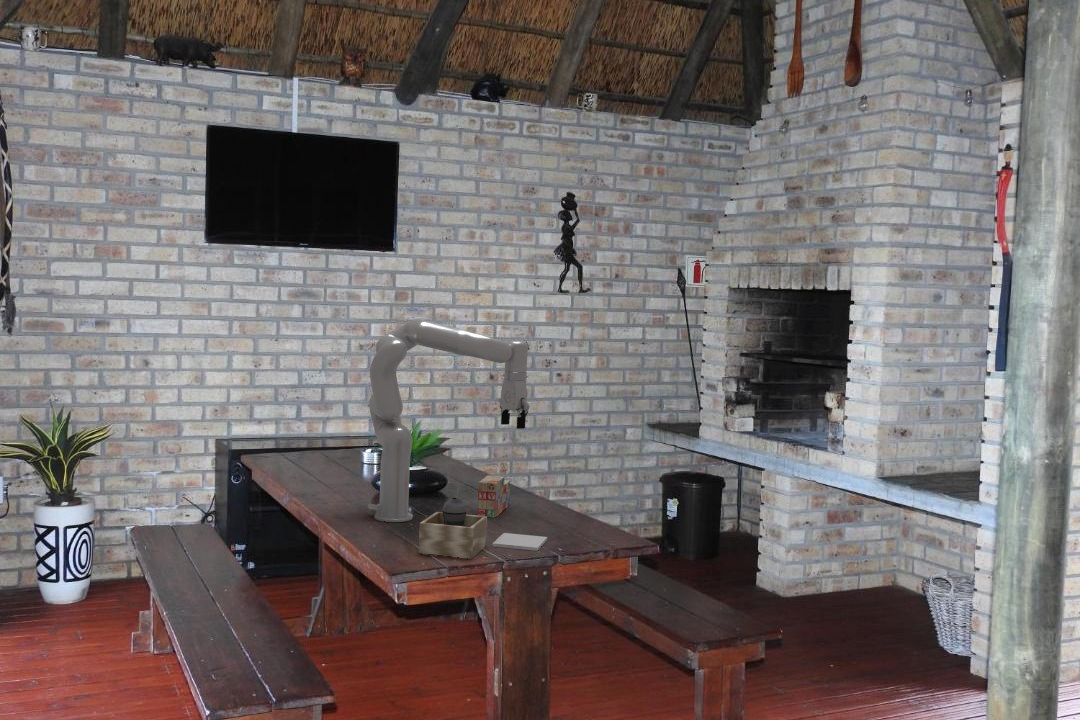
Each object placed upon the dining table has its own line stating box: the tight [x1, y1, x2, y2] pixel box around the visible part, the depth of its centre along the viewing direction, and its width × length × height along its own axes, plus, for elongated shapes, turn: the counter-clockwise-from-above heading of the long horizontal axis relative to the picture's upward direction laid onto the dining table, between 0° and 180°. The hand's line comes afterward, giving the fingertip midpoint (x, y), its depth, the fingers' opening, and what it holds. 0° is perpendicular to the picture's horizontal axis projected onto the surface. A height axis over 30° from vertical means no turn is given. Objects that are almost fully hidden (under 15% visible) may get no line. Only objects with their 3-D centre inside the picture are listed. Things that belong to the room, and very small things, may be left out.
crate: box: [418, 511, 488, 560], centre depth 321 cm, size 16×16×9 cm
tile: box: [492, 532, 548, 552], centre depth 333 cm, size 14×14×1 cm
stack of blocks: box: [476, 475, 511, 519], centre depth 376 cm, size 21×6×12 cm, turn 168°
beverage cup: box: [441, 482, 467, 527], centre depth 321 cm, size 7×7×20 cm
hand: (512, 426), depth 371 cm, fingers open, 9 cm apart
